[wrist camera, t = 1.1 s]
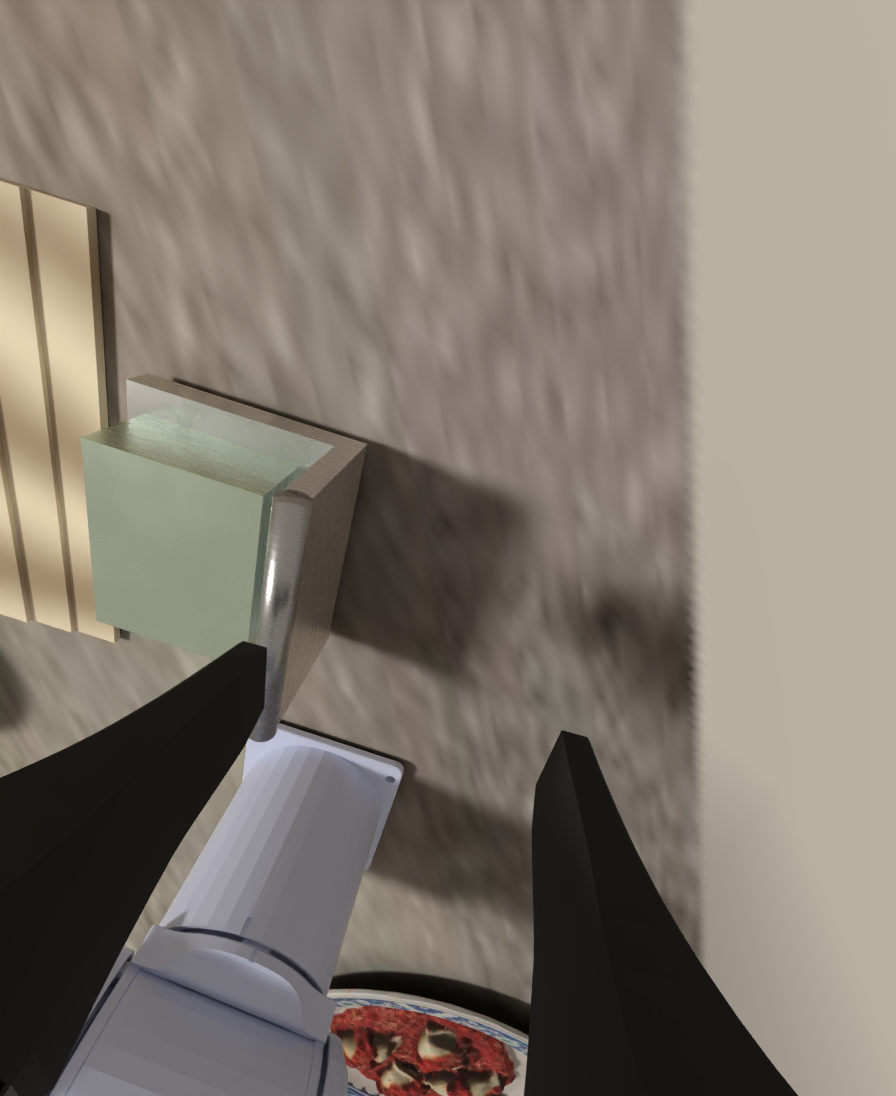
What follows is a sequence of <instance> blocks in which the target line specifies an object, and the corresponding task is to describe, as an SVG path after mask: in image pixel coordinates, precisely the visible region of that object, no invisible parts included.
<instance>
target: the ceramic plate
mask: <svg viewBox="0 0 896 1096" xmlns="http://www.w3.org/2000/svg"><path fill="white" fill-rule="evenodd" d="M327 997H329V998H331V999H333V1000H335V1001H336V1003H337V1004H336V1008H335V1011H334V1015H333V1019H332V1022H331V1026H330V1029H329V1032H331V1033H333V1034H336V1035H337V1036H338V1037H339V1038H340V1039H341V1041H342V1044H343V1050H344V1057H345V1061H346V1065H347V1070H348V1091H347V1096H524V1087H525V1076H526V1065H527V1052H528V1038H529V1036H528V1035H526V1034H525V1033H523V1032H521V1031H519V1030H517V1029H515V1028H513V1027H510V1026H508V1025H506V1024H504V1023H502V1022H499V1021H497V1020H495V1019H493V1018H490V1017H488V1016H485V1015H482V1014H479V1013H476V1012H474V1011H471V1010H468V1009H465V1008H462V1007H459V1006H456V1005H453V1004H449V1003H445V1002H441V1001H437V1000H433V999H429V998H425V997H420V996H415V995H410V994H404V993H399V992H391V991H381V990H371V989H329V990H328V994H327Z"/></svg>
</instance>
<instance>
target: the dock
mask: <svg viewBox="0 0 896 1096" xmlns="http://www.w3.org/2000/svg"><path fill="white" fill-rule="evenodd" d="M107 427H108V410H107V393H106V376H105V358H104V341H103V323H102V306H101V288H100V271H99V253H98V236H97V218H96V209H95V208H92V207H89V206H86V205H83V204H80V203H76V202H73V201H70V200H67V199H64V198H61V197H58V196H54V195H51V194H48V193H45V192H42V191H39V190H36V189H32V188H29V187H26V186H23V185H20V184H17V183H14V182H10V181H7V180H4V179H1V178H0V614H2V615H5V616H8V617H12V618H15V619H18V620H21V621H24V622H29V621H30V620H34V621H37V622H40V623H44V624H47V625H50V626H53V627H56V628H59V629H62V630H65V631H68V632H71V633H72V632H73V631H74V630H76V631H79V632H82V633H85V634H88V635H92V636H95V637H98V638H101V639H104V640H107V641H110V642H113V643H115V642H116V641H117V640H119V639H120V628H117V627H114V626H111V625H108V624H105V623H102V622H99V621H96V612H95V600H94V589H93V577H92V565H91V554H90V542H89V530H88V519H87V507H86V495H85V484H84V472H83V460H82V449H81V437H82V436H85V435H88V434H91V433H93V432H96V431H99V430H102V429H104V428H107Z"/></svg>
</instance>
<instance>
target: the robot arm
mask: <svg viewBox="0 0 896 1096" xmlns="http://www.w3.org/2000/svg"><path fill="white" fill-rule="evenodd" d="M266 665H267V647H263V646H260V645H256V644H253V643H249V642H246V641H242V642H240V643H238V644H237V645H235V646H234V647H232V648H231V649H229V650H228V651H227V652H225V653H224V654H222V655H221V656H219V657H218V658H217V659H215V660H214V661H212V662H211V663H209V664H208V665H206V666H205V667H203V668H202V669H200V670H199V671H198V672H196V673H195V674H193V675H192V676H190V677H189V678H187V679H186V680H184V681H182V682H181V683H179V684H178V685H176V686H175V687H173V688H172V689H170V690H168V691H167V692H165V693H164V694H162V695H161V696H159V697H158V698H156V699H154V700H153V701H151V702H149V703H148V704H146V705H144V706H143V707H141V708H139V709H137V710H136V711H134V712H132V713H131V714H129V715H127V716H126V717H124V718H122V719H120V720H119V721H117V722H115V723H113V724H112V725H110V726H108V727H106V728H104V729H102V730H101V731H99V732H97V733H95V734H93V735H91V736H89V737H87V738H85V739H83V740H81V741H79V742H77V743H75V744H73V745H71V746H69V747H67V748H65V749H63V750H61V751H59V752H57V753H55V754H53V755H50V756H48V757H46V758H44V759H42V760H40V761H37V762H35V763H33V764H31V765H29V766H26V767H24V768H22V769H20V770H17V771H15V772H13V773H10V774H8V775H6V776H3V777H1V778H0V1096H347V1091H348V1070H347V1065H346V1061H345V1057H344V1050H343V1044H342V1041H341V1039H340V1038H339V1037H338V1036H337V1035H336V1034H333V1033H331V1032H329V1029H330V1026H331V1022H332V1019H333V1015H334V1011H335V1008H336V1004H337V1003H336V1001H335V1000H333V999H331V998H329V997H327V994H328V990H329V987H330V984H331V980H332V977H333V974H334V970H335V967H336V963H337V960H338V957H339V953H340V950H341V946H342V943H343V940H344V936H345V933H346V930H347V926H348V923H349V919H350V916H351V913H352V909H353V906H354V903H355V899H356V896H357V892H358V889H359V886H360V882H361V879H362V875H363V872H364V870H367V869H369V868H370V865H371V862H372V859H373V857H374V854H375V851H376V848H377V845H378V843H379V840H380V837H381V834H382V831H383V829H384V826H385V823H386V820H387V817H388V815H389V812H390V809H391V806H392V804H393V801H394V798H395V795H396V792H397V790H398V787H399V784H400V781H401V778H402V775H403V772H404V767H403V765H402V764H400V763H399V762H397V761H394V760H391V759H388V758H385V757H382V756H379V755H376V754H373V753H370V752H367V751H364V750H361V749H357V748H354V747H351V746H348V745H345V744H342V743H339V742H336V741H333V740H330V739H327V738H324V737H321V736H317V735H314V734H311V733H308V732H305V731H302V730H299V729H296V728H293V727H290V726H287V725H284V724H281V723H279V724H278V727H277V732H276V735H275V736H274V737H273V738H272V739H271V740H269V741H266V742H255V741H252V740H251V739H249V737H250V735H251V733H252V731H253V729H254V727H255V725H256V723H257V721H258V719H259V717H260V715H261V713H262V711H263V709H264V705H265V685H266ZM246 742H247V745H246V754H245V762H244V771H243V779H242V784H241V786H240V788H239V789H238V791H237V793H236V794H235V796H234V798H233V800H232V801H231V803H230V805H229V806H228V808H227V810H226V812H225V813H224V815H223V817H222V818H221V820H220V822H219V823H218V825H217V827H216V829H215V830H214V832H213V834H212V835H211V837H210V839H209V841H208V842H207V844H206V846H205V847H204V849H203V851H202V853H201V854H200V856H199V858H198V859H197V861H196V863H195V865H194V866H193V868H192V870H191V871H190V873H189V875H188V877H187V878H186V880H185V882H184V883H183V885H182V887H181V889H180V890H179V892H178V894H177V895H176V897H175V899H174V901H173V902H172V904H171V906H170V907H169V909H168V911H167V913H166V914H165V916H164V918H163V919H162V921H161V923H160V925H159V926H158V925H153V926H152V927H151V929H150V931H149V932H148V934H147V936H146V937H145V939H144V941H143V942H142V944H141V946H140V947H139V949H138V951H137V953H136V954H135V956H134V958H133V955H134V950H132V949H129V948H127V947H125V946H124V945H125V943H126V941H127V939H128V937H129V935H130V933H131V931H132V930H133V928H134V926H135V924H136V922H137V920H138V918H139V916H140V914H141V913H142V911H143V909H144V907H145V905H146V903H147V901H148V899H149V898H150V896H151V894H152V892H153V890H154V888H155V887H156V885H157V883H158V881H159V879H160V878H161V876H162V874H163V872H164V870H165V869H166V867H167V865H168V863H169V861H170V859H171V858H172V856H173V854H174V852H175V851H176V849H177V848H178V846H179V844H180V843H181V841H182V839H183V838H184V836H185V835H186V833H187V832H188V830H189V829H190V827H191V826H192V824H193V823H194V821H195V820H196V818H197V817H198V815H199V814H200V812H201V811H202V809H203V808H204V806H205V805H206V803H207V802H208V800H209V799H210V797H211V796H212V794H213V793H214V791H215V790H216V788H217V787H218V785H219V784H220V782H221V781H222V780H223V778H224V777H225V775H226V774H227V772H228V771H229V769H230V767H231V766H232V764H233V763H234V761H235V760H236V758H237V757H238V755H239V754H240V752H241V751H242V749H243V748H244V746H245V744H246ZM532 869H533V911H534V965H533V980H532V996H531V1012H530V1025H529V1038H528V1052H527V1065H526V1076H525V1087H524V1096H798V1095H797V1094H796V1093H795V1091H794V1090H793V1089H792V1088H791V1087H790V1085H789V1084H788V1083H787V1082H786V1080H785V1079H784V1078H783V1077H782V1075H781V1074H780V1073H779V1072H778V1071H777V1069H776V1068H775V1066H774V1065H773V1064H772V1063H771V1061H770V1060H769V1059H768V1057H767V1056H766V1055H765V1053H764V1052H763V1051H762V1049H761V1048H760V1047H759V1045H758V1044H757V1043H756V1041H755V1040H754V1039H753V1037H752V1036H751V1035H750V1033H749V1032H748V1030H747V1029H746V1028H745V1026H744V1025H743V1024H742V1022H741V1021H740V1020H739V1018H738V1017H737V1016H736V1014H735V1013H734V1011H733V1010H732V1008H731V1007H730V1005H729V1004H728V1002H727V1001H726V1000H725V998H724V996H723V995H722V994H721V992H720V991H719V989H718V988H717V986H716V985H715V983H714V982H713V980H712V979H711V978H710V976H709V975H708V973H707V972H706V970H705V969H704V967H703V966H702V964H701V963H700V961H699V960H698V958H697V957H696V955H695V953H694V952H693V950H692V949H691V947H690V945H689V944H688V942H687V941H686V939H685V937H684V936H683V934H682V933H681V931H680V929H679V928H678V926H677V924H676V922H675V921H674V919H673V917H672V916H671V914H670V912H669V911H668V909H667V907H666V905H665V904H664V902H663V900H662V898H661V897H660V895H659V893H658V891H657V889H656V887H655V886H654V884H653V882H652V880H651V878H650V876H649V874H648V872H647V870H646V868H645V866H644V864H643V863H642V861H641V859H640V857H639V855H638V853H637V851H636V849H635V847H634V844H633V842H632V840H631V838H630V836H629V834H628V832H627V830H626V827H625V825H624V823H623V821H622V819H621V816H620V814H619V812H618V810H617V808H616V805H615V803H614V801H613V798H612V796H611V794H610V791H609V789H608V786H607V784H606V782H605V779H604V777H603V774H602V772H601V769H600V767H599V764H598V762H597V759H596V756H595V754H594V751H593V749H592V746H591V743H590V741H589V740H588V738H587V737H584V736H581V735H577V734H573V733H570V732H566V731H563V730H562V731H561V733H560V735H559V737H558V739H557V741H556V743H555V745H554V748H553V750H552V752H551V754H550V756H549V758H548V760H547V762H546V764H545V767H544V769H543V771H542V773H541V775H540V777H539V779H538V781H537V784H536V789H535V799H534V809H533V822H532ZM132 958H133V959H132Z"/></svg>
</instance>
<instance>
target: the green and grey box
mask: <svg viewBox="0 0 896 1096" xmlns="http://www.w3.org/2000/svg"><path fill="white" fill-rule="evenodd" d="M126 383H127V409H128V420H127V421H124V422H121V423H118V424H116V425H113V426H110V427H107V428H104V429H102V430H99V431H96V432H93V433H91V434H88V435H85V436H82V437H81V449H82V460H83V472H84V484H85V495H86V507H87V519H88V530H89V542H90V554H91V565H92V577H93V589H94V600H95V612H96V621H99V622H102V623H105V624H108V625H111V626H114V627H117V628H120V629H123V630H126V631H130V632H133V633H136V634H139V635H142V636H145V637H148V638H151V639H154V640H157V641H160V642H163V643H166V644H170V645H173V646H176V647H179V648H182V649H185V650H188V651H191V652H194V653H197V654H200V655H203V656H207V657H210V658H213V659H217V658H218V657H219V656H221V655H222V654H224V653H225V652H227V651H228V650H229V649H231V648H232V647H234V646H235V645H237V644H238V643H240V642H242V641H246V642H249V643H253V644H256V645H260V646H263V647H267V665H266V685H265V705H264V709H263V711H262V713H261V715H260V717H259V719H258V721H257V723H256V725H255V727H254V729H253V731H252V733H251V735H250V737H249V739H251V740H252V741H255V742H266V741H269V740H271V739H272V738H273V737H274V736H275V735H276V732H277V727H278V724H279V722H280V720H281V719H282V717H283V715H284V713H285V712H286V710H287V708H288V707H289V705H290V703H291V701H292V700H293V698H294V696H295V694H296V693H297V691H298V689H299V688H300V686H301V684H302V682H303V681H304V679H305V677H306V676H307V674H308V672H309V670H310V669H311V667H312V665H313V663H314V662H315V660H316V658H317V657H318V655H319V653H320V651H321V650H322V648H323V646H324V644H325V643H326V641H327V639H328V636H329V631H330V626H331V621H332V617H333V612H334V607H335V602H336V597H337V592H338V587H339V582H340V577H341V572H342V567H343V562H344V557H345V552H346V548H347V543H348V538H349V533H350V528H351V523H352V518H353V513H354V508H355V503H356V498H357V493H358V488H359V484H360V479H361V474H362V469H363V464H364V459H365V454H366V449H367V444H366V443H363V442H360V441H357V440H354V439H350V438H347V437H344V436H341V435H338V434H335V433H332V432H329V431H326V430H322V429H319V428H316V427H313V426H310V425H307V424H304V423H301V422H298V421H294V420H291V419H288V418H285V417H282V416H279V415H276V414H273V413H269V412H266V411H263V410H260V409H257V408H254V407H251V406H248V405H245V404H241V403H238V402H235V401H232V400H229V399H226V398H223V397H220V396H216V395H213V394H210V393H207V392H204V391H201V390H198V389H195V388H192V387H188V386H185V385H182V384H179V383H176V382H173V381H170V380H167V379H163V378H160V377H157V376H154V375H151V374H145V375H141V376H137V377H134V378H130V379H126Z"/></svg>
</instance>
